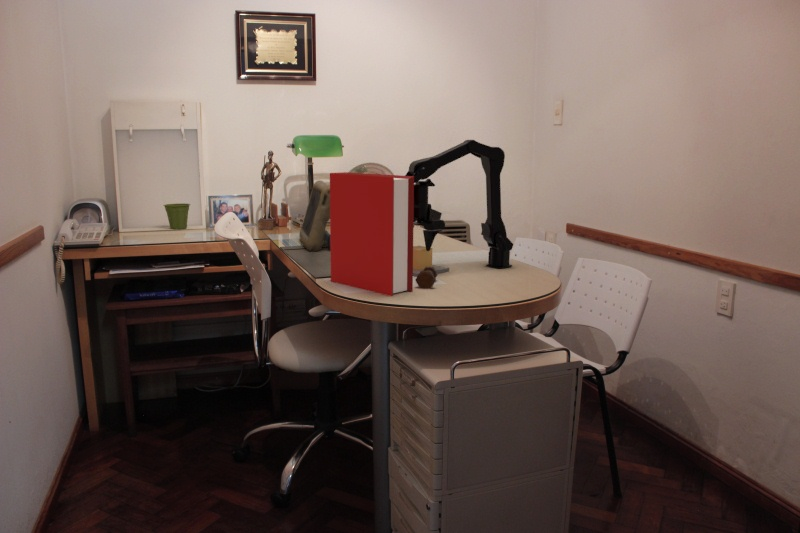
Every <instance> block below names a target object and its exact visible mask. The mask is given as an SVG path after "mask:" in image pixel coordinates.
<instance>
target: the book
mask: <svg viewBox="0 0 800 533" xmlns="http://www.w3.org/2000/svg"><path fill="white" fill-rule="evenodd" d="M414 184H415V183H414V176H405V175H399V174H398V175H397V174H396V175H395V174H383V173H382V174H381V173H366V172H364V173H363V172H348V171H347V172H346V171H344V172H329V185H330V219H329V220H330V221H329V222H330V224H329V225H330V226H329V227H330V232H329V234H330V241H331V250H330V281H331V283H336V284H341V285H344V286H348V287H352V288H355V289H356V288H357V289H360V290H366V291H368V290H369V291H368V292H374V293H378V294H382V295H385V296H389V297H393V295H394V294H397V293H402V292H404V291H409V292H413V285H414V284H413V283H414V282H413V281H414V280H413V279H414V278H413V277H414V276H413V246H414V228H413V222H414Z"/></svg>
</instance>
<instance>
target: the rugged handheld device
mask: <svg viewBox="0 0 800 533" xmlns="http://www.w3.org/2000/svg"><path fill="white" fill-rule="evenodd" d="M311 188H312V189H311V193H310V196H309V201H308V205H307V206H306V210H305V215H304V219H303V221H302V225H301V228H300V230H299V239H300V241H301V244H302V245H303V246H304V248H305V250H307V251H312V252H313V253H314V252H318V251H319V250H321V249H322V247H323V244H324V243H325V244H326V245H327V248H328V249H329V250H330V251H331V241H330V232H329V231H327V230H326V227H327V224H328V222H329V220H330V184H326V183H325V182H324V180H317V181H315V182H314V183H313V186H312V187H311Z"/></svg>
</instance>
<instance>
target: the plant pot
mask: <svg viewBox="0 0 800 533" xmlns="http://www.w3.org/2000/svg"><path fill="white" fill-rule="evenodd" d="M163 206H164V209H165V212H166V215H167V216H166V217H167V219H168V223H169V228H170V229H171V230H173V229H174V230H183V229H187V227H188V218H189V217H188V216H189V211H190V206H191V203H168V204H163Z"/></svg>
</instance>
